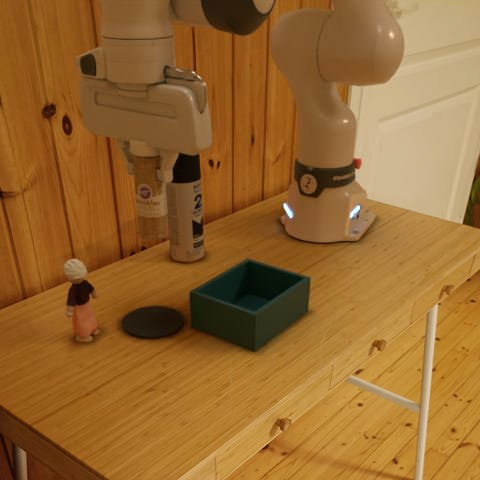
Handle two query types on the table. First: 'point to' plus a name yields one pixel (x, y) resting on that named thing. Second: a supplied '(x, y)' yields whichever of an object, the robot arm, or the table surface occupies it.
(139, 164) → the sprinkles bottle
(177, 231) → the spray can
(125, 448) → the table surface
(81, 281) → the grandmother figurine
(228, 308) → the basin
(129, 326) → the pad
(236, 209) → the table surface
